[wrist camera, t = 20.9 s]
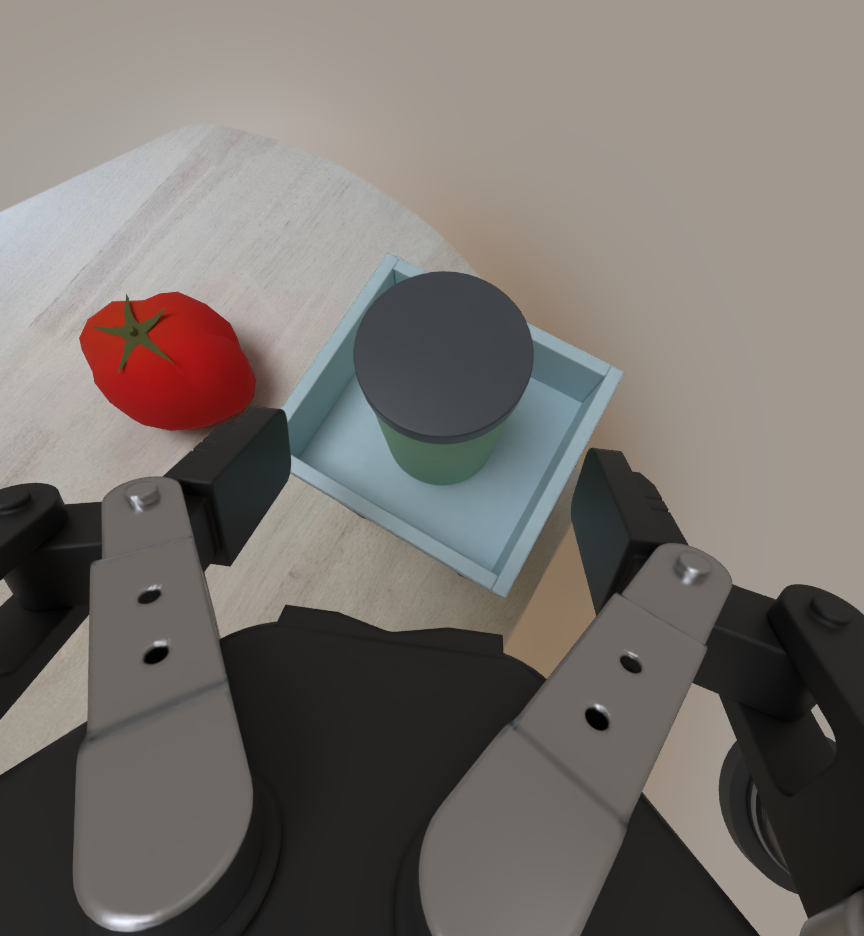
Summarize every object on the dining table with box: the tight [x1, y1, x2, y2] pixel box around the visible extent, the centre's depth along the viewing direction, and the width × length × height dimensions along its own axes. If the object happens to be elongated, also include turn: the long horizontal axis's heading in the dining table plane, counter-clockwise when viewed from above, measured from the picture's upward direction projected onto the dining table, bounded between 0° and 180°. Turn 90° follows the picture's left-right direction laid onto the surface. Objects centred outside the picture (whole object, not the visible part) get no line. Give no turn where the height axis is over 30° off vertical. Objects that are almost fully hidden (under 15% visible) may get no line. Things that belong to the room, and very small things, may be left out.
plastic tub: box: [353, 271, 534, 485], centre depth 17 cm, size 5×5×8 cm
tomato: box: [79, 292, 256, 430], centre depth 37 cm, size 11×13×10 cm
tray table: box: [281, 253, 624, 598], centre depth 28 cm, size 11×10×22 cm
